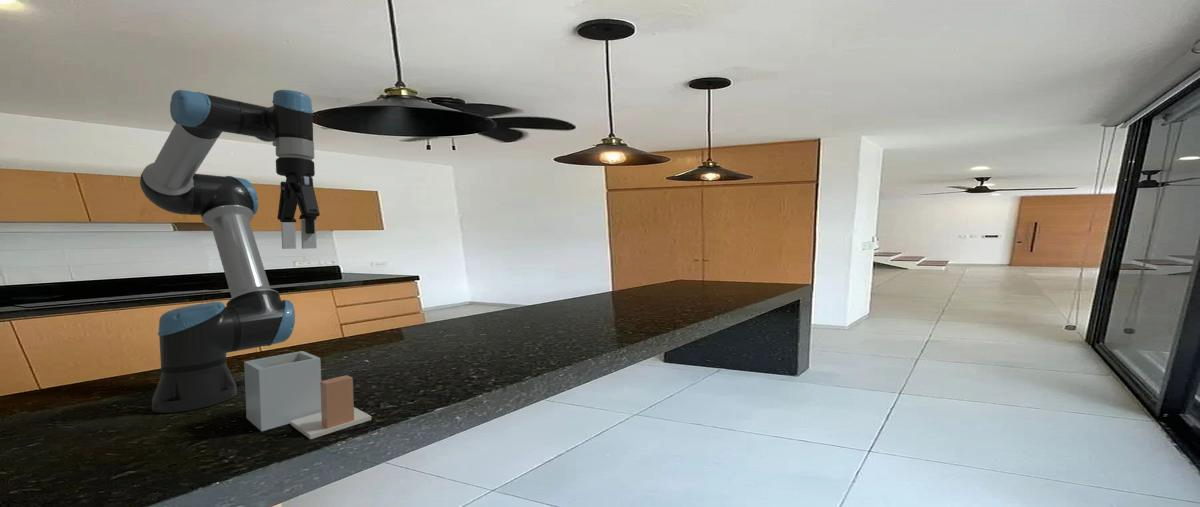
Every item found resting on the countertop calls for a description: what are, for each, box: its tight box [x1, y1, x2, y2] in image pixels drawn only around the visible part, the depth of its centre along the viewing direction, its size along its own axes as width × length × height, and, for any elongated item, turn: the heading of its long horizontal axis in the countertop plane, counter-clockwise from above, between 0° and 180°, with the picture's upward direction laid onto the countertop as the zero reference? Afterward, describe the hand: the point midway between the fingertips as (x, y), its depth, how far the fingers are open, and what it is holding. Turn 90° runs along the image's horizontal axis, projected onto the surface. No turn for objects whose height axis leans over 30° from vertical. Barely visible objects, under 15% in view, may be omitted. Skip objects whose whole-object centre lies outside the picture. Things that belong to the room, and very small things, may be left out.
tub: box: [243, 350, 322, 432], centre depth 96 cm, size 11×11×12 cm
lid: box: [289, 374, 372, 440], centre depth 92 cm, size 11×11×10 cm
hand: (298, 248), depth 104 cm, fingers open, 13 cm apart
